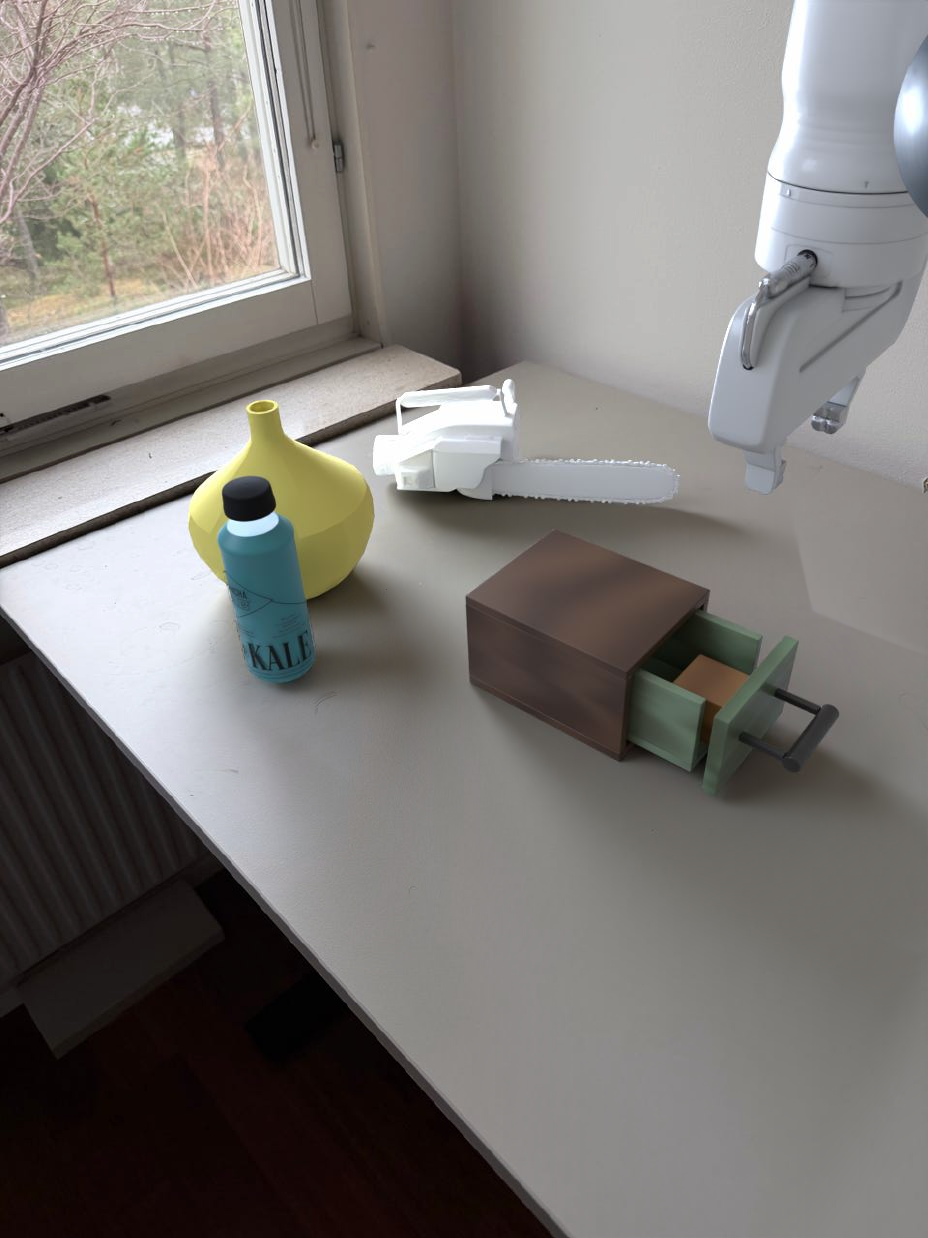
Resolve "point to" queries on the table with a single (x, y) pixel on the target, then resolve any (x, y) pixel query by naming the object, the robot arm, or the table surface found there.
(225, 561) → the beverage bottle
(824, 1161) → the table surface
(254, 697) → the table surface
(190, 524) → the vase
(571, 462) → the chainsaw
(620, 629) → the cabinet
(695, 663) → the block
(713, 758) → the drawer
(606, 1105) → the table surface
